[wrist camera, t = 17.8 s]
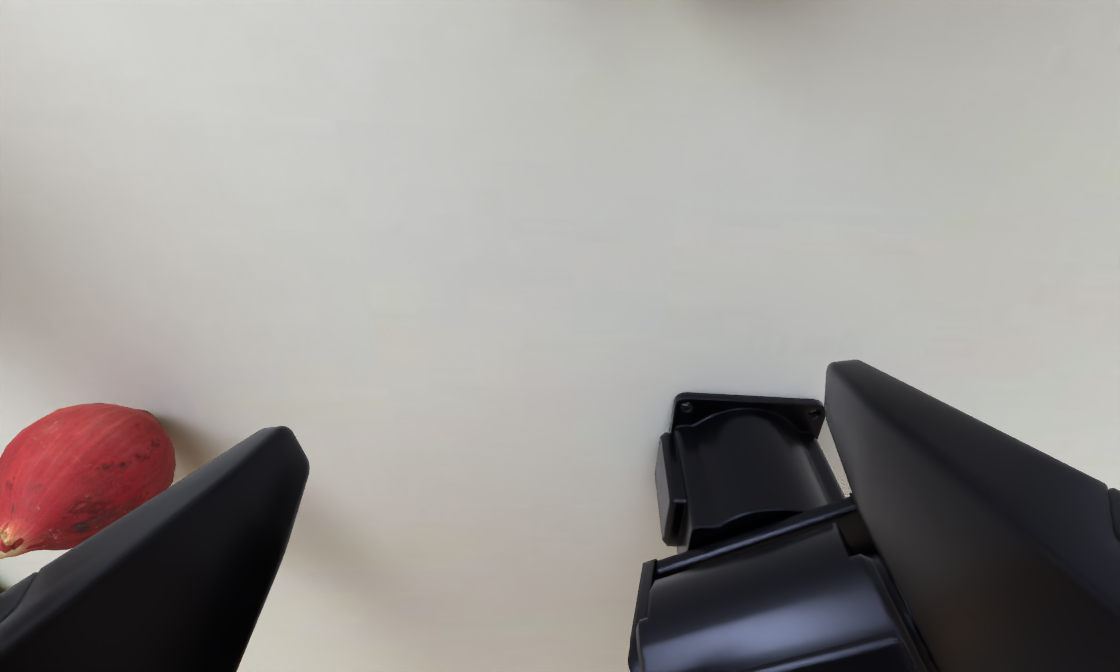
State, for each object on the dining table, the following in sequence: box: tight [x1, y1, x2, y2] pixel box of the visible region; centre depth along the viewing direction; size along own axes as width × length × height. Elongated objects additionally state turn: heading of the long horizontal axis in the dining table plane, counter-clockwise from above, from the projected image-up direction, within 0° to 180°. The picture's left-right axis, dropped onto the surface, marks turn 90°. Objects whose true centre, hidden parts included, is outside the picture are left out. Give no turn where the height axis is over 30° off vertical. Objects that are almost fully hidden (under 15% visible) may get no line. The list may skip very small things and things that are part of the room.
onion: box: [0, 403, 175, 559], centre depth 24 cm, size 6×6×8 cm
